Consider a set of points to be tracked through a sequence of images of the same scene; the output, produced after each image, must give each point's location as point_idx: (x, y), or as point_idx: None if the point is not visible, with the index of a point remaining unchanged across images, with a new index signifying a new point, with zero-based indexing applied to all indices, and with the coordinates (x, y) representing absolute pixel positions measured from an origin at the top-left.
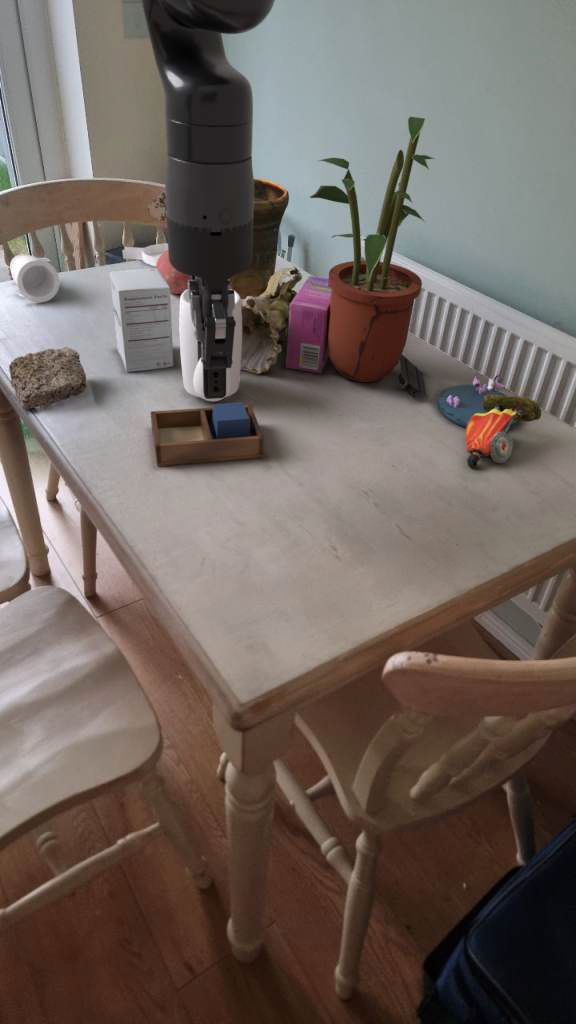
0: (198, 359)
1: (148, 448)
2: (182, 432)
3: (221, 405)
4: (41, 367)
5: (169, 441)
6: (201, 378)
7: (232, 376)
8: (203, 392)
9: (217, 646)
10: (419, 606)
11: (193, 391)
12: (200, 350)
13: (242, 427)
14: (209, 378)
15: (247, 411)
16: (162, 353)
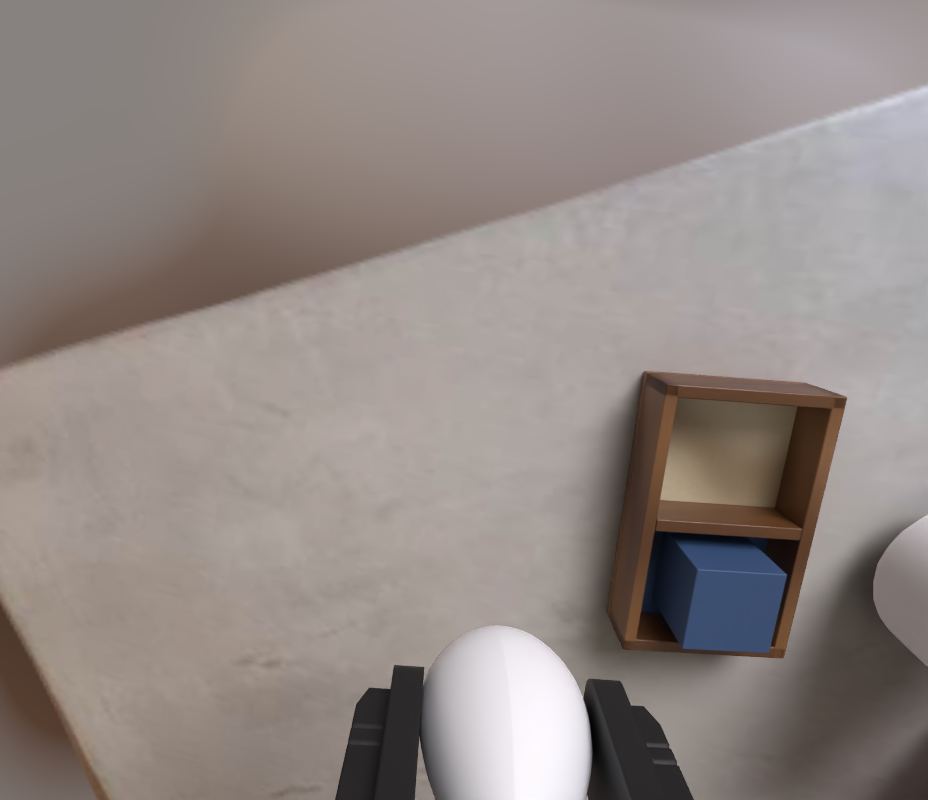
0: (612, 738)
1: (729, 361)
2: (758, 458)
3: (771, 596)
4: None
5: (729, 419)
6: (455, 708)
7: (921, 655)
8: (421, 669)
9: (34, 388)
10: (98, 748)
11: (924, 527)
12: (625, 793)
13: (674, 616)
14: (343, 770)
15: None
16: None
